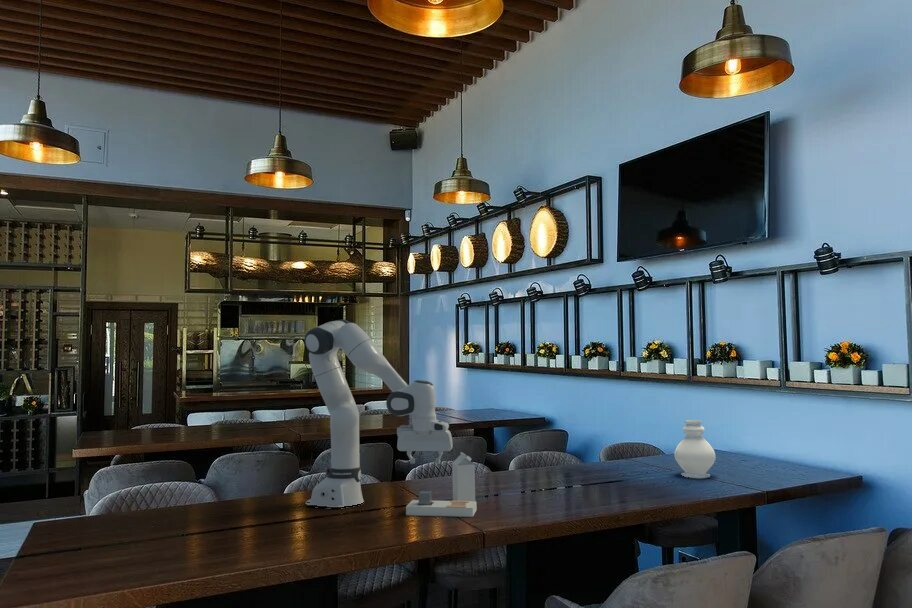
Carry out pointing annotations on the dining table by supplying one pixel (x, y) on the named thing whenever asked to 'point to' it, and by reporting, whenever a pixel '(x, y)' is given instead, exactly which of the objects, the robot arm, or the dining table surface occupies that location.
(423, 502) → the dark gray block
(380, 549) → the dining table surface
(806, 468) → the dining table surface
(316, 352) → the robot arm
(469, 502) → the socket rail
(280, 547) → the dining table surface
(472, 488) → the milk carton
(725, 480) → the dining table surface
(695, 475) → the decorative vase
